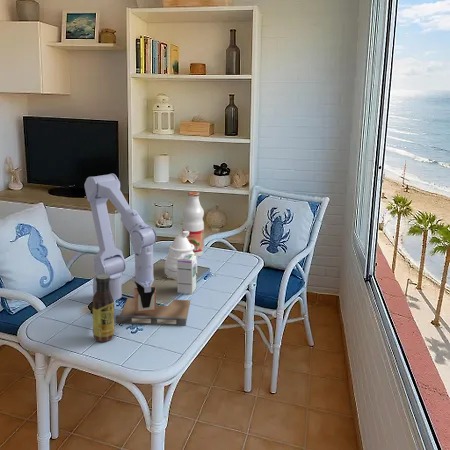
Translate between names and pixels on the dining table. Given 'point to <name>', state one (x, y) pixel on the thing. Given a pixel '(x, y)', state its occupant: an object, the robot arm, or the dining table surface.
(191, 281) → the syrup box
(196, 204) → the fruit juice
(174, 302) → the brown wooden pallet
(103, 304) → the sauce bottle
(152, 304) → the tea tin
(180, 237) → the honey pot
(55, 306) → the dining table surface
